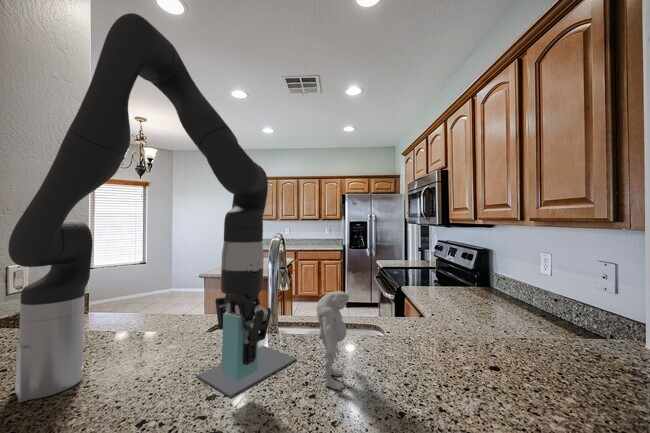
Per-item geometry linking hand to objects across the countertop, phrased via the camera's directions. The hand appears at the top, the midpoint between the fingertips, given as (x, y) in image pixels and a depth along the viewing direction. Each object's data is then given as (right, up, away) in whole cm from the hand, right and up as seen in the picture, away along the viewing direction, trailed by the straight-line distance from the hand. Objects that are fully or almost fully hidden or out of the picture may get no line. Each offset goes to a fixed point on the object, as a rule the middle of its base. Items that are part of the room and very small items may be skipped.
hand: (240, 358), depth 51 cm
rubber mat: (-1, -8, +11) cm, 13 cm away
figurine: (+17, -8, +6) cm, 20 cm away
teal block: (0, -3, 0) cm, 3 cm away
